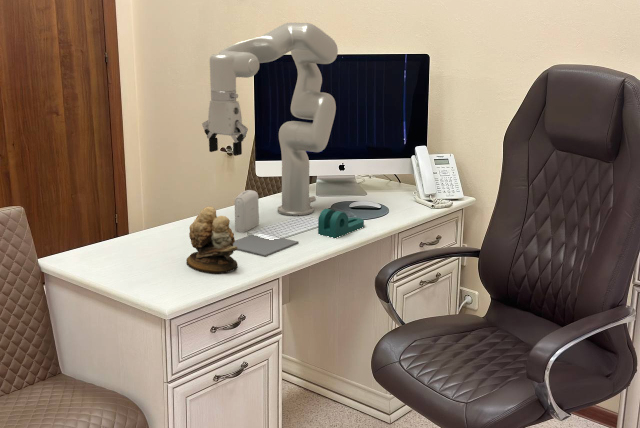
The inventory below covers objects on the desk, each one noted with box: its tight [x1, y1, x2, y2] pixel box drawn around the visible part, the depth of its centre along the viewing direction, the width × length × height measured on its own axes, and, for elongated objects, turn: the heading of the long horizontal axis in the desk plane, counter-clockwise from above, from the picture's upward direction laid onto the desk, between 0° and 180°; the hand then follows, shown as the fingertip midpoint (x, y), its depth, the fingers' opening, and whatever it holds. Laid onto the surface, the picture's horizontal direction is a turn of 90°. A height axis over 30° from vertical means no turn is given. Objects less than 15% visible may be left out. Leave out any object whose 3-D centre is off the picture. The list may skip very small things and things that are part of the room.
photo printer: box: [234, 189, 260, 233], centre depth 236 cm, size 10×4×12 cm, turn 156°
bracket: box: [317, 208, 365, 239], centre depth 236 cm, size 18×7×8 cm, turn 143°
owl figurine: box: [186, 206, 239, 275], centre depth 201 cm, size 18×12×17 cm, turn 48°
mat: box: [233, 234, 300, 258], centre depth 221 cm, size 16×16×1 cm
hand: (225, 153), depth 224 cm, fingers open, 9 cm apart
